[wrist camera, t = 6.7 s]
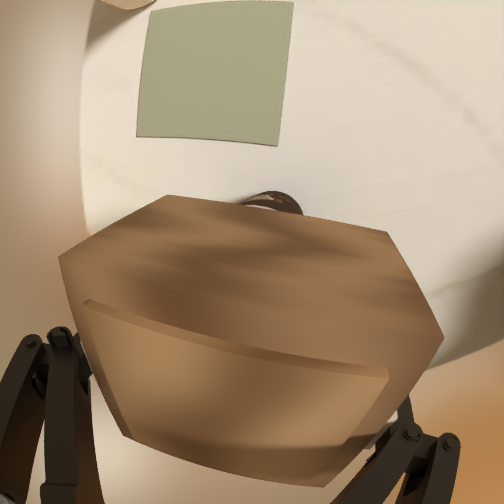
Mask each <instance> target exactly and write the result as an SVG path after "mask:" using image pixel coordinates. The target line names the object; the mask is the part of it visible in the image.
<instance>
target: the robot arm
mask: <svg viewBox="0 0 504 504" xmlns="http://www.w3.org/2000/svg"><path fill="white" fill-rule="evenodd" d="M47 339H48V341H49V344H46V343H43V342H42V340H41V338H40V336H39V335H36V334H30V335H27V336H26V337H24V338H23V339H22V341H21V342H20V344H19V346H18V348H17V350H16V352H15V354H14V355H13V357H12V359H11V361H10V363H9V365H8V367H7V369H6V371H5V373H4V375H3V378H2V380H1V382H0V504H25V502H26V499H27V495H28V489H29V484H30V478H31V473H32V467H33V463H34V458H35V454H36V449H37V445H38V441H39V437H40V433H41V430H42V426H43V422H44V419H45V423H44V425H45V426H44V457H45V474H46V475H45V476H46V480H45V483H43V484H41V486H40V498H41V504H105V503H104V500H103V495H102V490H101V486H100V480H99V474H98V468H97V461H96V454H95V446H94V438H93V437H94V436H93V426H92V412H91V389H90V380H89V377H90V376H91V375H92V374H93V371H92V369H91V366H90V364H89V361H88V359H87V356H86V353H85V351H84V348H83V345H82V342H81V339H80V336H79V333H78V332H77V333H76V334H75V335H74V336H73V337H72V334H71V331H70V330H69V329H68V328H66V327H61V326H60V327H55V328H53V329H51V330H50V331H49V333H48V334H47ZM93 376H94V374H93ZM94 378H95V376H94ZM95 380H96V379H95ZM374 444H375V449H376V451H375V452H374V453H373V454H372V455H371V456H370V457H369V458H368V459H367V460H366V461H367V462H366V463H365V465H364V466H363V467H362V468H361V470H360V471H359V472H358V473H357V475H356V476H355V477H354V478H353V479H352V480H351V482H350V483H349V484H348V485H347V486H346V487H345V488H344V489H343V491H342V492H341V493H340V494H339V495H338V496H337V497H336V498H335V499H334V500H333V501H332V502H331V503H330V504H382V503H383V502H384V501H385V499H386V498H387V497H388V495H389V494H390V492H391V491H392V489H393V488H394V487H395V485H396V484H397V482H398V481H399V479H400V478H401V476H402V474H403V473H404V472H405V473H406V474H405V477H404V480H403V483H402V486H401V489H400V492H399V494H398V497H397V499H396V502H395V504H450V500H451V496H452V492H453V488H454V483H455V478H456V473H457V468H458V461H459V455H460V448H461V447H460V441H459V439H458V438H457V436H456V435H454V434H452V433H444V434H442V435H441V436H440V437H439V438H437V437H434V436H430V435H427V434H424V433H423V431H422V429H421V427H420V426H419V425H417V424H416V423H415V422H414V418H413V412H412V407H411V402H410V398H409V394H408V396H407V397H406V398H405V400H404V401H403V402H402V404H401V405H400V406H399V408H398V409H397V410H396V411H395V413H394V414H393V415H392V416H391V418H390V419H389V420H388V421H387V423H386V424H385V425H384V426H383V427H382V429H381V430H380V431H379V432H378V433H377V434H376V436H375V437H374V438H373V439H372V440H371V441H370V442H369V443H368V445H367V446H366V447H365V448H364V449H371V448H372V446H373V445H374Z"/></svg>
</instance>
